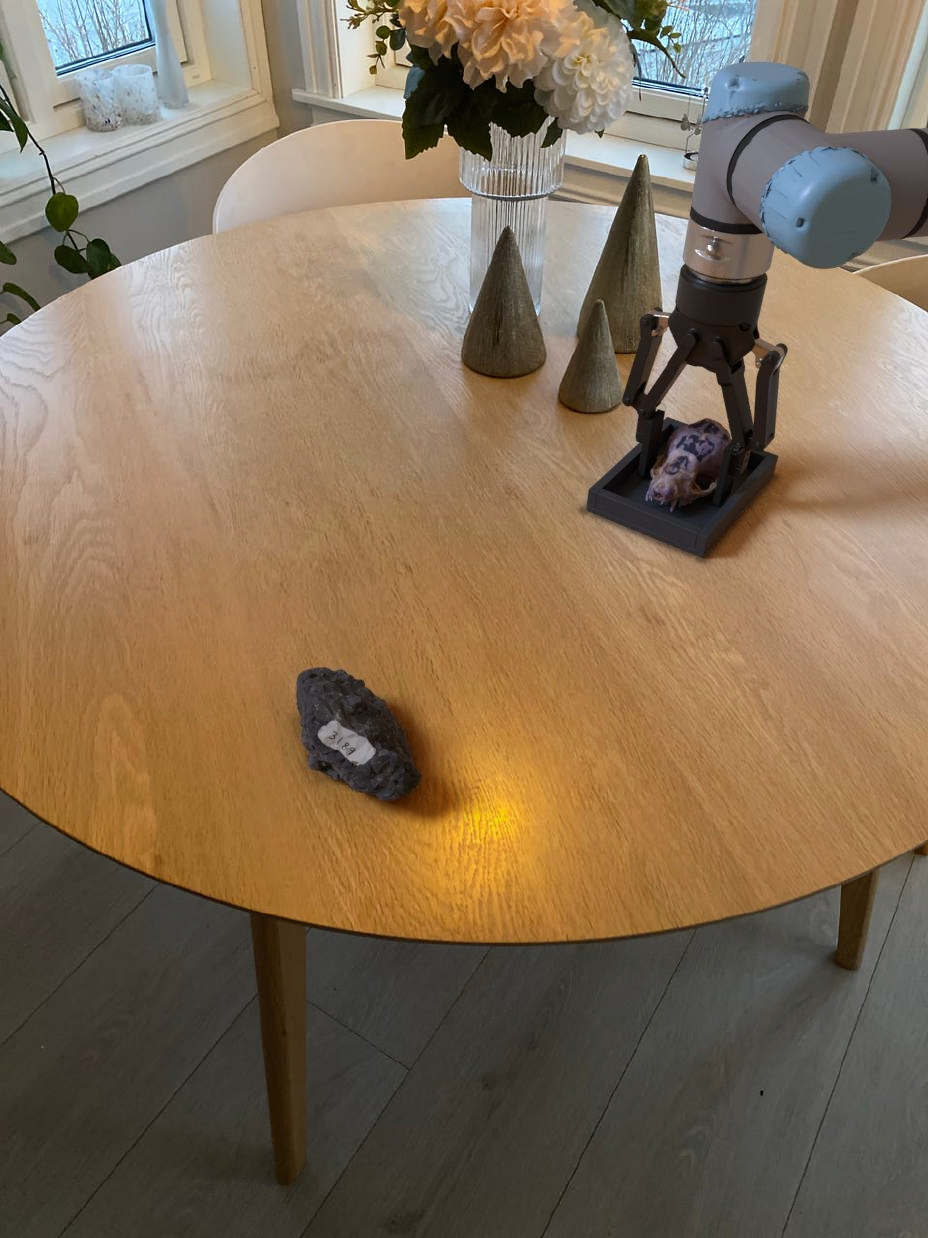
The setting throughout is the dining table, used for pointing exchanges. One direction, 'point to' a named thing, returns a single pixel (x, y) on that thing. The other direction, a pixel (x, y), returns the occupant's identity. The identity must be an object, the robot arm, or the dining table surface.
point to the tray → (687, 524)
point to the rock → (354, 735)
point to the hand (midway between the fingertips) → (683, 483)
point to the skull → (688, 463)
